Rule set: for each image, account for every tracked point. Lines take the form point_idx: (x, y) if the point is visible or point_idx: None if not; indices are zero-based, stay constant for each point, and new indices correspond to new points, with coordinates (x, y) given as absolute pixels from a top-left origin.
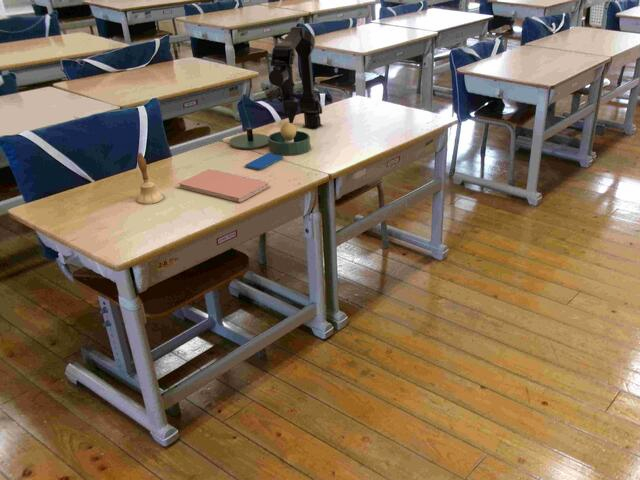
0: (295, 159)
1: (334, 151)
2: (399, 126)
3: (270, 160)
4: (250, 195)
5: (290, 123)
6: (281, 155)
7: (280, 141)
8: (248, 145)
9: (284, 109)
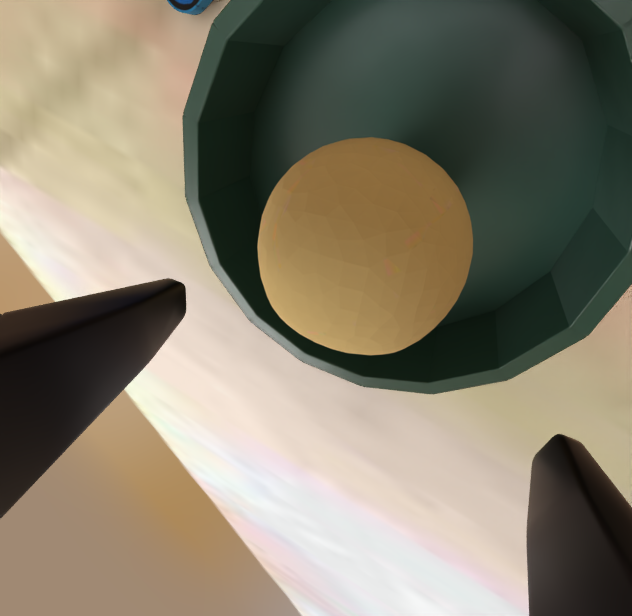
0: (168, 116)
1: (234, 367)
2: None
3: None
4: None
5: (321, 327)
6: (195, 5)
7: (600, 180)
8: None
9: (622, 589)
